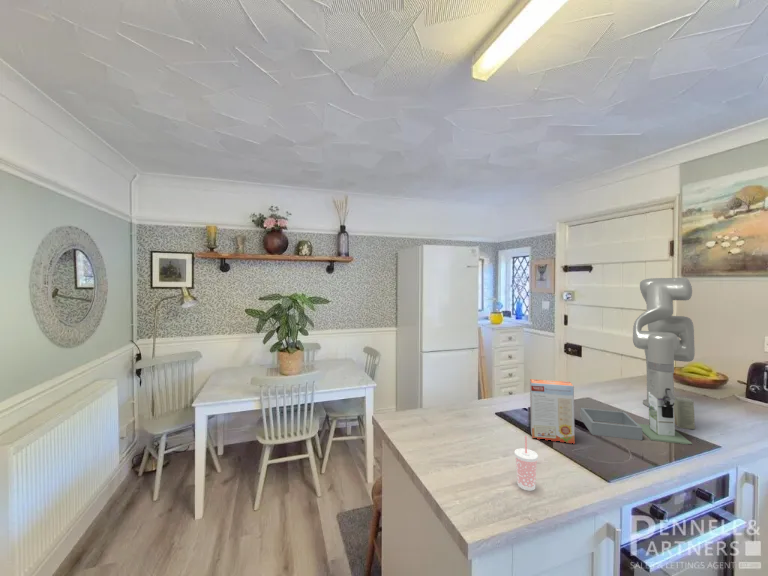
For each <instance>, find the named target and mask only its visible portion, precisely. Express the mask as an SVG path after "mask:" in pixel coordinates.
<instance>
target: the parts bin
mask: <svg viewBox="0 0 768 576" xmlns="http://www.w3.org/2000/svg"><path fill="white" fill-rule="evenodd" d="M581 419H582V420H581ZM580 420H581V421H582V423H583V424H584V425H585V427H586V428H587V430H588V431H589V433H590V434H591V435H593V436H603V437H611V438H621V439H626V440H627V439H629V440H636V441H637V440H638V441H643V432H642V427H641V426H640V425H639V424H640V423H638V422H636V421H635V420H634V419H633V418H632V417H631V416H630V415H629V414H627V413H626V412H625V411H619V410H618V411H617V410H610V409H609V410H607V409H598V408H597V409H596V408H588V407H587V408H586V407H580ZM593 420H594V421H593Z"/></svg>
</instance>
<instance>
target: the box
mask: <svg viewBox="0 0 768 576" xmlns="http://www.w3.org/2000/svg"><path fill="white" fill-rule="evenodd" d="M674 398H675V402H674V422H675V425H676V426H677V427H678V429H679V428H680V429H688V430H689V429H690V430H695V429H696V425H695V423H696V422H695V402H694V400H693V399H691V398H689V397H679V396H674Z"/></svg>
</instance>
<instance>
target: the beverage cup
mask: <svg viewBox="0 0 768 576" xmlns="http://www.w3.org/2000/svg"><path fill="white" fill-rule="evenodd" d="M524 444H525V445H524V447H523V448H522V447H521V448H516V449H515V450H514V457H515V465H516V469H515V470H516V483H517V486H518V487H519V488H521V489H522V490H523V491H524V490H525V491H534V490H535V489H536V481H537V480H536V479H537V463H538V461H539V454H538V453H537V452H536V451H534V450H531V449H530V448H528V436H527V435H524Z"/></svg>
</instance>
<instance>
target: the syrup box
mask: <svg viewBox="0 0 768 576" xmlns="http://www.w3.org/2000/svg"><path fill="white" fill-rule="evenodd" d="M663 398H668V397H663ZM666 402H667V401H666V400H665V403H666ZM662 406H663V404H662V400H661V399H657V398H656V397H654V396H653V395H652V394H650V392H649V407H648V425H649V428H650V429H651V430H652V431H654V432H655V433H656V434H658V435H665V436H675V431H676V428H675V427H676V426H675V425H676V424H675V419H674V408H673V418H664V417H662Z"/></svg>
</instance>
